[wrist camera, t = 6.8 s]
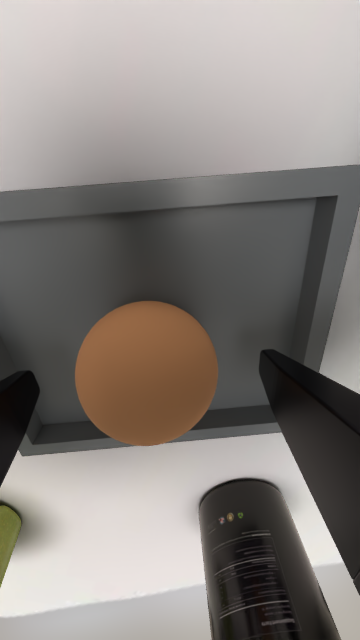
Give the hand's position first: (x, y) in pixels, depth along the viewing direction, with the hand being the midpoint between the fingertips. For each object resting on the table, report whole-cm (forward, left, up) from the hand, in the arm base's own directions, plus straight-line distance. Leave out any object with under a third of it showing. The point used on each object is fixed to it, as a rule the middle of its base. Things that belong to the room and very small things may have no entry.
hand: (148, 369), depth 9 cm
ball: (0, 0, 0) cm, 0 cm away
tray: (0, 0, -3) cm, 3 cm away
